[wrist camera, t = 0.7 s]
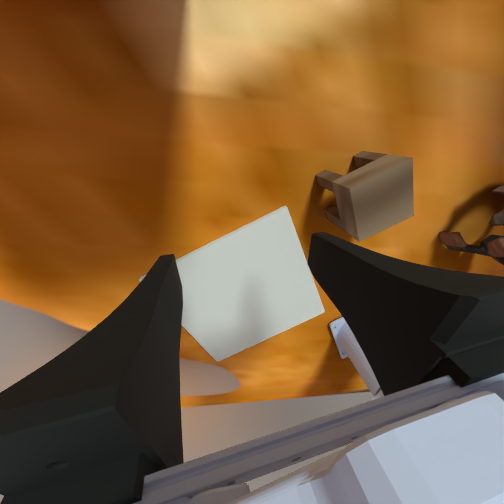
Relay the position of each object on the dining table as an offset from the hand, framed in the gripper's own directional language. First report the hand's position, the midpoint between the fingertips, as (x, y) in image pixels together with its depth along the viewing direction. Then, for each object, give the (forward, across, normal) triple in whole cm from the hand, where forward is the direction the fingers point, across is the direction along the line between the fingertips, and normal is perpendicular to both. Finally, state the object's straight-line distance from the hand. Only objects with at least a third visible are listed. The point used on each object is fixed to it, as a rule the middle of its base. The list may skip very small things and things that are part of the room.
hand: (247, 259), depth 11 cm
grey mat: (+9, -2, +12) cm, 15 cm away
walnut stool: (+9, -12, 0) cm, 15 cm away
